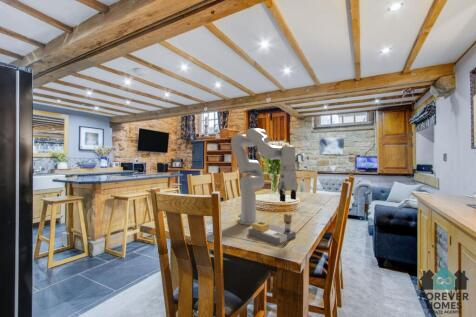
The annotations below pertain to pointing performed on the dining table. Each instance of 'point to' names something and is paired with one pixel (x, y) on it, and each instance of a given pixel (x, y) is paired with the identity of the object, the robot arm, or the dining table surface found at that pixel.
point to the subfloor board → (273, 234)
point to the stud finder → (260, 226)
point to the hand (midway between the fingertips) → (288, 200)
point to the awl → (287, 222)
